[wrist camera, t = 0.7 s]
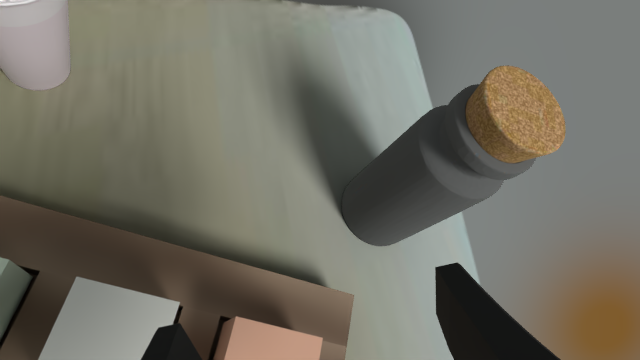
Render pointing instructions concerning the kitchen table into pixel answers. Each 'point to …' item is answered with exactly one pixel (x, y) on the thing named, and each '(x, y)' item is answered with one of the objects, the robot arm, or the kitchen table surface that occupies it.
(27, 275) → the green cube
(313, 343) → the salmon cube
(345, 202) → the bottle
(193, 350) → the robot arm
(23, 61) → the smoothie
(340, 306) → the brown wooden tray
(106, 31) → the kitchen table surface
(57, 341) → the white cube
